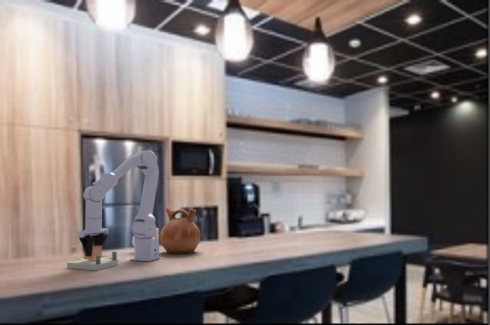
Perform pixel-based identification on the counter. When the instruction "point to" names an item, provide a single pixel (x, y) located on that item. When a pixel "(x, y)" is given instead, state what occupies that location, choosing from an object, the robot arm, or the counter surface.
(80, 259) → the pallet
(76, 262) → the dock
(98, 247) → the orange block
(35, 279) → the counter surface
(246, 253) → the counter surface
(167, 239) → the jug
